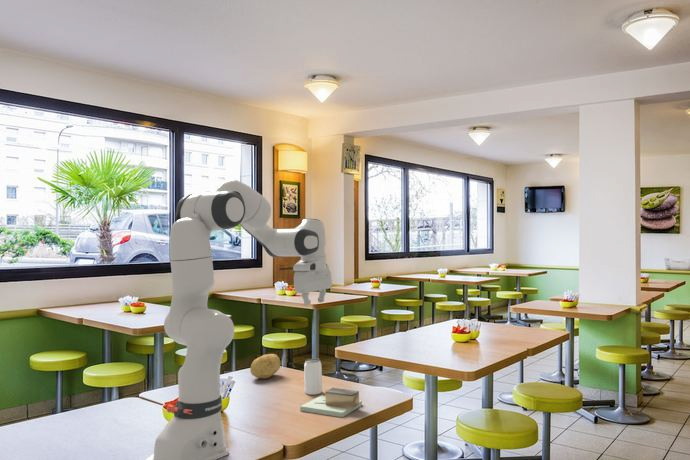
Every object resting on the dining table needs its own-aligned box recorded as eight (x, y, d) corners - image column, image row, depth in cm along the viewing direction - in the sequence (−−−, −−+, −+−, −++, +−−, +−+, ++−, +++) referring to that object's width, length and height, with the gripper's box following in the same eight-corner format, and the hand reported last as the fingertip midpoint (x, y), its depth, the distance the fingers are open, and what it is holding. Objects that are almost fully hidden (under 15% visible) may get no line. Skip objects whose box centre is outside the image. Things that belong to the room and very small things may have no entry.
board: (342, 417, 177) (342, 412, 177) (300, 410, 185) (300, 406, 185) (362, 405, 190) (361, 400, 190) (321, 399, 197) (321, 394, 197)
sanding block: (352, 408, 181) (352, 394, 181) (325, 404, 185) (325, 391, 185) (359, 404, 185) (358, 390, 185) (332, 400, 190) (332, 387, 190)
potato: (286, 377, 229) (285, 354, 230) (254, 383, 221) (254, 359, 221) (274, 372, 238) (274, 350, 238) (243, 378, 229) (243, 355, 229)
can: (302, 391, 207) (301, 359, 207) (318, 389, 210) (317, 357, 210) (308, 396, 201) (307, 363, 201) (324, 393, 204) (324, 361, 204)
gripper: (320, 263, 207) (321, 300, 207) (290, 266, 189) (291, 307, 189) (335, 263, 204) (336, 300, 204) (306, 266, 186) (306, 307, 186)
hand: (314, 303), depth 196 cm, fingers open, 8 cm apart
